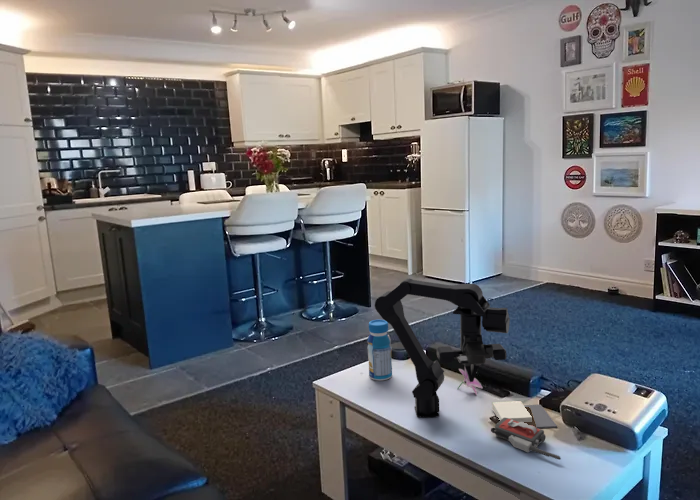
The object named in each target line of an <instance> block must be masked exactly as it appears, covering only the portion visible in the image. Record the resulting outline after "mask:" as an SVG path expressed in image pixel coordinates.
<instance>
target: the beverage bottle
mask: <svg viewBox="0 0 700 500" xmlns="http://www.w3.org/2000/svg"><path fill="white" fill-rule="evenodd" d="M368 332H369V335H368V337H367V344H368V345H367V346H366V347H367V349H366V351H367V357H368V376H369V378H370V379H371V380H374V381H378V382H379V381H380V382H383V381H387V380H389V379H391V378H392V377H393V366H392V365H393V364H392V350H393V349H392V345H391V342H392V340H391V337H390V335H389V333H388V332H389V323H388V322H387V321H385V320H384V319H372V320H370V321H369V322H368Z"/></svg>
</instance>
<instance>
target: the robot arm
mask: <svg viewBox="0 0 700 500" xmlns="http://www.w3.org/2000/svg"><path fill="white" fill-rule="evenodd" d="M407 295H410V296H411V295H412V296H418V297H422V298H423V297H424V298H428V299H429V298H430V299H437V300H442V301H443V300H444V301H447V302H449V303H451V304H453V305H455V306H457V307H456V308H455V309H454V310H453V311H452V314H454V315H459V317H460V319H459V320H460V321H459V322H460V323H459V324H460V325H459V327H460V328H459V329H460V330H459V331H460V334H459V335H460V344H459V345H460V349H453V348H452V347H451V346H450V345H449V346H438V347H437V348H436V357H437V359H436V360H434V361H433V360H431V359H430V358H429V357H428V355H427V353H426V352H425V350H424V348H423V347H422V345H421V343H420V341H419V340H418V338H417V336H416V334H415V332H414V331H413V329H412V328H411V326H410V324H409V322H408V320H407V318H406V317H405V310H404V307H403V304H402V301H401V300H403V299H404V298H405V297H406V296H407ZM490 306H491V304H490V303H489V301H488V300H487V299H486V297H485V296H484V294H483V291H482V288H481V287H480V286H479V285H478V284H475V283H460V284H459V283H458V284H452V285H451V284H444V283H443V284H442V283H437V282H429V281H424V280H418V279H417V280H415V279H412V278H406V279H404V280H403V281H401V283H400V284H399V285H398V286H396V287H395V288H393V290H392V291H390V290H389V291H386V292H384V293H383V294H382V295H380V296H379V297H378V298H376V300H375V302H374V309H375V311H376V312H377V313H378V315H379V316H380V318H382V320H385V321H387V322H388V325H390V326H391V327H392V329H393V331H394V333H395V334H396V336H397V338H398V339H399V341H400V343H401V345H402V347H403V349H404V351H405V352H406V353H407V356H408V357H409V358H410V360H411V362H412V364H413V365H414V369H415V376H416V379H417V383H418V384H416V386H415V387H414V388H413V390H412V391H411V393H412V395H413V398H414V401H415V402H414V403H415V404H414V410H415V415H416V418H435V417H439V416H440V414H439V412H440V398H439V396H438V394H437V391H438V390H439V389H440V388H441V387H442V386H441V385H443V383H444V381H445V375H444V372H445V370H444V369H443V368H442V367H441V365H440V363H443V364H447V363H452V362H453V361H455V358H456V359H457V361H458V363H459V364H460V365H463V366H464V367H465V368H464V370H465V369H466V372H467V375H468V378H469V380H470V382H473V381H474V378H476V375H477V373H478V370H479V368H480V366H481V365H484V364H486V363H487V360H488V359H489V360H490V359H491V358H493V359H494V360H495V361H504V360H507V350H506V349H505V348H504V346H503V345H502V344H500V343H490V344H489V343H488V344H484V342H483V336H482V328H483V330H484V331H486V332H490V333H498V334H499V333H501V334H508V333H509V331H510V321H511V320H510V319H511V318H510V316H509V315H510V314H509V312H508V311H509V309H508V307H490Z"/></svg>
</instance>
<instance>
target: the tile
mask: <svg viewBox="0 0 700 500" xmlns="http://www.w3.org/2000/svg"><path fill="white" fill-rule="evenodd" d="M491 403H492V404H491V406H492V407H491V409H492V411H493V412H494V414H495V416H496V418H497V417H498V418H499V419H498V418H497V419H498V421H499V420H502V419H503V418H509V419H512V420H515V421H518V422H532V416H531V415H530V413H529V412H528V411H527V409H526V408H525V406H524V404H523V402H522V401H521V400H518V401H517V400H515V401H513V400H511V401H497V402H496V401H495V402H491Z"/></svg>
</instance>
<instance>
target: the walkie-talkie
mask: <svg viewBox="0 0 700 500" xmlns="http://www.w3.org/2000/svg"><path fill="white" fill-rule="evenodd" d="M490 433H493V434H495V436H496V437H497V438H501V439H503V440H506V441H508V442H509V443H511V445H512V447H514V448H516V449H519V450H522V451H524V452H526V453H529V452H533V453H534V452H535V453H537V454H540V455H543V456H546V457H550V458H553V459H556V460H561V459H562V458H561V456H559V455H557V454H554V453H551V452H549V451H546V450H543V449H540V448H538V446H539V445H540V444H541V443H544V442H545V441H546V434H545V430H543V429H542V428H536V427H535V426H533V425H528V424H527V423H524V422H518V421H515V420H512V419H509V418H503V419H502V420H500V421H499V420H498V422H497V423H496V424H495V425H494V427H491V428H490Z"/></svg>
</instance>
